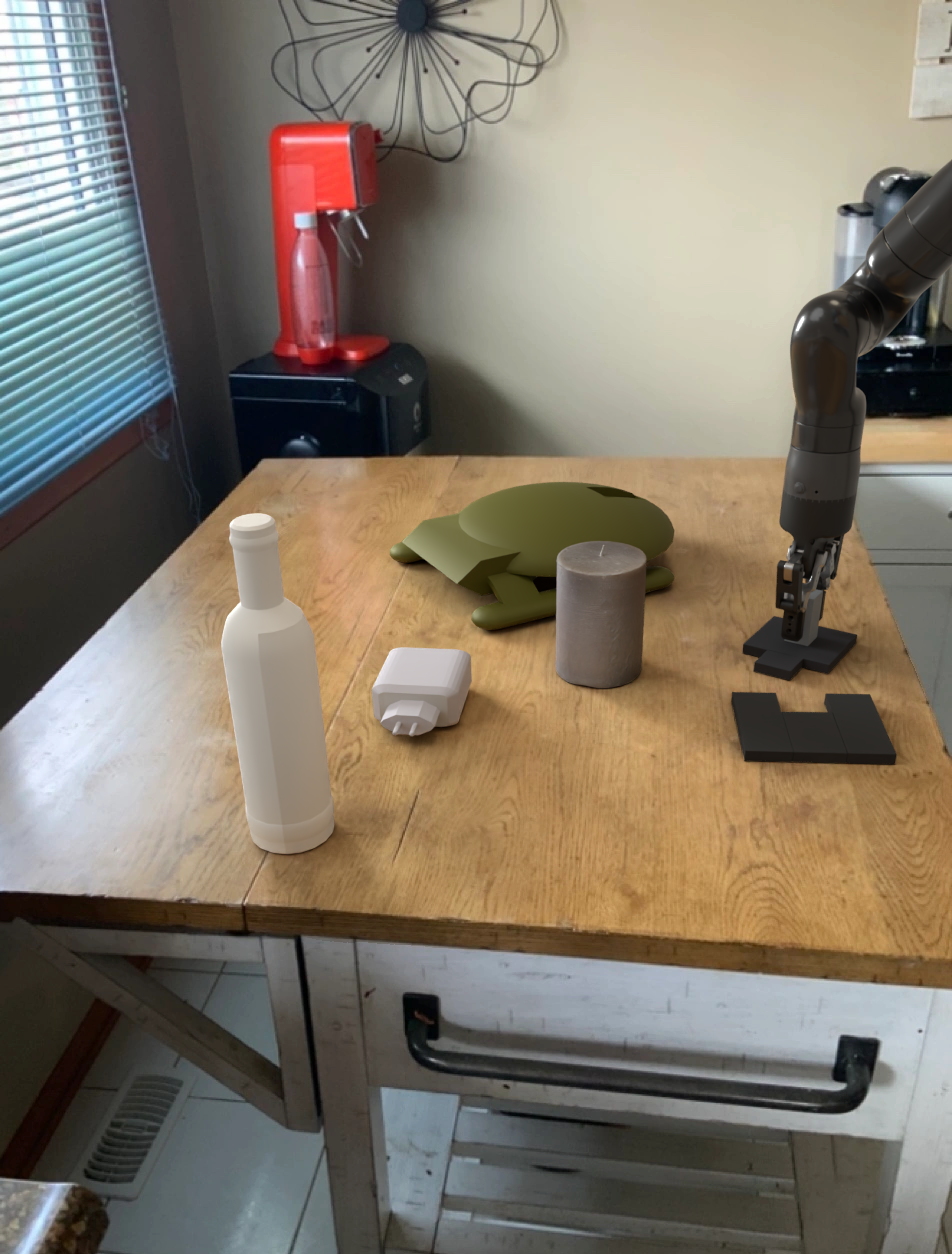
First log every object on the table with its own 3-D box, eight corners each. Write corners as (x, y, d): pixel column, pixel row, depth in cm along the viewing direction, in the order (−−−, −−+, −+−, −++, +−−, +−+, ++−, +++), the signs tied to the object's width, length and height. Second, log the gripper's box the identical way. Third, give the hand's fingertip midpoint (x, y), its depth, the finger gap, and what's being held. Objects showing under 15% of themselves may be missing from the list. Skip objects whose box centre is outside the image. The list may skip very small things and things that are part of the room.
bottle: (333, 801, 108) (300, 499, 93) (338, 850, 101) (304, 532, 86) (249, 811, 107) (203, 508, 92) (249, 860, 100) (198, 542, 85)
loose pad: (856, 643, 130) (865, 587, 127) (815, 687, 122) (824, 628, 118) (772, 624, 136) (779, 570, 132) (728, 665, 127) (734, 608, 124)
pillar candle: (616, 644, 134) (621, 523, 126) (657, 679, 125) (664, 553, 118) (540, 660, 131) (541, 537, 124) (577, 696, 123) (580, 568, 116)
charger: (360, 752, 115) (391, 683, 128) (449, 758, 113) (472, 687, 126) (356, 712, 113) (388, 646, 126) (447, 717, 111) (470, 649, 124)
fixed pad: (868, 703, 118) (870, 693, 118) (895, 764, 108) (897, 754, 107) (731, 701, 120) (732, 691, 120) (744, 761, 110) (745, 750, 109)
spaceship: (483, 638, 137) (481, 563, 132) (384, 558, 161) (379, 491, 157) (719, 579, 148) (725, 508, 144) (593, 512, 173) (595, 449, 168)
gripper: (830, 511, 114) (810, 661, 122) (878, 472, 123) (856, 613, 132) (759, 500, 118) (744, 645, 126) (810, 463, 127) (793, 600, 136)
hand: (801, 628), depth 129 cm, fingers open, 5 cm apart
